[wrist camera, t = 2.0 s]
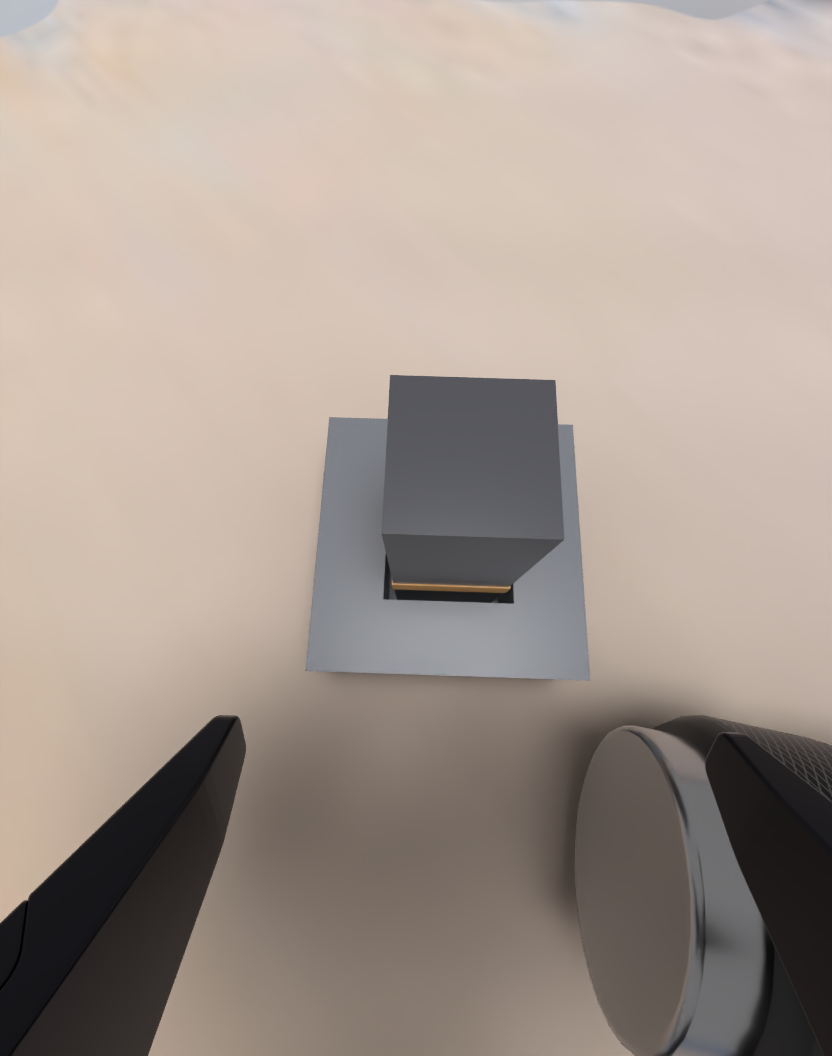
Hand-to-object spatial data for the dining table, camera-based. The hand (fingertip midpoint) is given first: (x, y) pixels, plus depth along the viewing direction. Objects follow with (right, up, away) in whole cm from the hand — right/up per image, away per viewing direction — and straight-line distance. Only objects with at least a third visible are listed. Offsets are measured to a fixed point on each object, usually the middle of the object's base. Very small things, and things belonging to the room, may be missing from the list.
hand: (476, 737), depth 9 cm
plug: (0, +3, +13) cm, 13 cm away
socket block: (0, +2, +13) cm, 14 cm away
